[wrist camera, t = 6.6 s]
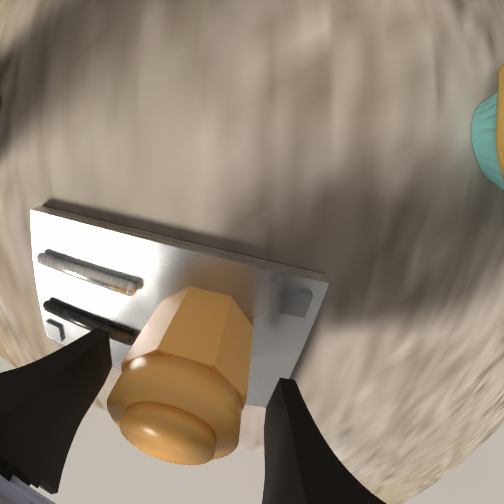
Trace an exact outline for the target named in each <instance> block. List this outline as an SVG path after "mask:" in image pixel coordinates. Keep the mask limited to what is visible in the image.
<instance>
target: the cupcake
mask: <svg viewBox="0 0 504 504" xmlns="http://www.w3.org/2000/svg"><path fill="white" fill-rule="evenodd" d="M497 76H498V92H496V93H495V94H494V95H493V96H491V97H490V98H488V99H487V100H485V101H484V102H482V103H481V104H480V105H479V106H478V107H477V109H476V111H475V113H474V116H473V120H472V128H471V135H472V145H473V150H474V154H475V157H476V160H477V162H478V164H479V167H480V168H481V170H482V172H483V173H484V174H485V176H486V177H487V178H488V179H489V180H490V181H492V182H493V183H495V184H496V185H497V186H499V187H500V188H501V189H502V190H503V191H504V65H503V66H501V67H500V69H499V70H498V75H497Z"/></svg>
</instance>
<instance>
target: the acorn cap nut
mask: <svg viewBox="0 0 504 504" xmlns="http://www.w3.org/2000/svg"><path fill="white" fill-rule="evenodd" d="M252 337H253V326H252V324H251V323H250V322H249V320H248V319H247V318H246V316H245V315H244V313H243V312H242V311H241V309H240V308H239V306H238V305H237V304H236V302H235V301H234V299H233V298H232V297H231V296H227V295H223V294H219V293H216V292H212V291H208V290H204V289H200V288H197V287H193V286H189V287H187V288H185V289H184V290H182V291H180V292H178V293H176V294H174V295H173V296H171V297H169V298H167V299H165V300H163V301H162V302H160V303H159V305H158V306H157V308H156V309H155V311H154V312H153V314H152V316H151V317H150V319H149V320H148V322H147V323H146V325H145V326H144V328H143V329H142V331H141V333H140V334H139V336H138V337H137V339H136V341H135V342H134V344H133V345H132V347H131V348H130V350H129V352H128V353H127V355H126V357H125V358H124V360H123V361H122V363H121V368H122V374H121V375H120V377H119V379H118V380H117V382H116V384H115V386H114V387H113V389H112V391H111V393H110V395H109V397H108V399H107V408H108V411H109V413H110V415H111V417H112V419H113V420H114V422H115V423H116V424H117V425H118V426H119V427H120V430H121V432H122V434H123V435H124V437H125V438H126V439H127V440H128V441H129V442H130V443H131V444H132V445H134V446H135V447H136V448H138V449H139V450H141V451H143V452H145V453H146V454H149V455H151V456H153V457H155V458H158V459H160V460H163V461H167V462H171V463H175V464H181V465H199V464H204V463H207V462H209V461H211V460H213V459H218V458H221V457H224V456H227V455H228V454H230V453H232V452H233V451H234V450H235V449H236V447H237V445H238V442H239V433H240V424H241V414H242V410H243V407H244V405H245V403H246V400H247V391H248V381H249V370H250V359H251V348H252Z"/></svg>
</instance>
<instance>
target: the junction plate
mask: <svg viewBox="0 0 504 504" xmlns="http://www.w3.org/2000/svg"><path fill="white" fill-rule="evenodd" d="M31 237H32V251H33V261H34V270H35V278H36V285H37V291H38V297H39V303H40V308H41V313H42V318H43V323H44V327H45V331H46V335H47V337H49V338H51V339H53V340H55V341H57V342H58V343H61V344H63V345H65V346H66V345H68V344H70V343H71V342H73V341H75V340H77V339H78V338H80V337H82V336H83V335H85V334H87V333H88V332H90V331H92V330H94V329H95V328H99V329H102V330H104V331H107V332H109V339H110V349H111V358H112V366H113V367H115V368H118V369H120V370H122V368H121V363H122V361H123V360H124V358H125V357H126V355H127V353H128V352H129V350H130V348H131V347H132V345H133V344H134V342H135V341H136V339H137V337H138V336H139V334H140V333H141V331H142V329H143V328H144V326H145V325H146V323H147V322H148V320H149V319H150V317H151V316H152V314H153V312H154V311H155V309H156V308H157V306H158V305H159V303H160V302H162V301H163V300H165V299H167V298H169V297H171V296H173V295H174V294H176V293H178V292H180V291H182V290H184V289H185V288H187V287H189V286H193V287H197V288H200V289H204V290H208V291H212V292H216V293H219V294H223V295H227V296H231V297H232V298H233V299H234V301H235V302H236V304H237V305H238V306H239V308H240V309H241V311H242V312H243V313H244V315H245V316H246V318H247V319H248V320H249V322H250V323H251V324H252V326H253V337H252V348H251V359H250V370H249V381H248V391H247V400H246V403H245V404H247V405H253V406H259V407H265V408H266V406H267V404H268V402H269V400H270V398H271V396H272V394H273V391H274V389H275V387H276V385H277V383H278V380H279V378H286V379H289V377H290V375H291V373H292V371H293V369H294V367H295V365H296V362H297V360H298V358H299V356H300V354H301V351H302V349H303V347H304V345H305V342H306V340H307V338H308V335H309V333H310V331H311V328H312V326H313V323H314V321H315V319H316V316H317V314H318V311H319V309H320V306H321V304H322V301H323V299H324V296H325V294H326V291H327V288H328V286H329V282H328V279H327V277H326V275H325V274H323V273H319V272H315V271H310V270H306V269H302V268H298V267H293V266H289V265H285V264H281V263H276V262H272V261H268V260H264V259H260V258H255V257H251V256H247V255H243V254H239V253H234V252H230V251H226V250H222V249H218V248H213V247H209V246H205V245H201V244H197V243H193V242H188V241H184V240H180V239H176V238H172V237H168V236H164V235H160V234H155V233H151V232H147V231H143V230H139V229H135V228H131V227H127V226H123V225H118V224H114V223H110V222H106V221H102V220H98V219H94V218H90V217H86V216H82V215H78V214H74V213H70V212H66V211H62V210H58V209H53V208H49V207H45V206H39V207H36V208H34V209H31Z"/></svg>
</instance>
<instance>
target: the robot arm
mask: <svg viewBox="0 0 504 504" xmlns="http://www.w3.org/2000/svg"><path fill="white" fill-rule="evenodd" d="M111 368H112V358H111V349H110V339H109V332H107V331H104V330H102V329H99V328H95V329H94V330H92V331H90V332H88V333H87V334H85V335H83V336H82V337H80V338H78V339H77V340H75V341H73V342H71V343H70V344H68V345H66V346H64V347H63V348H61V349H59V350H57V351H55V352H53V353H51V354H49V355H47V356H45V357H43V358H41V359H39V360H37V361H35V362H32V363H30V364H27V365H25V366H22V367H19V368H16V369H13V370H9V371H5V372H2V373H0V504H56V503H54V502H52V501H51V500H49V499H48V498H46V497H44V496H43V495H41V494H40V493H38V492H37V491H35V490H33V489H32V488H31V487H29V486H30V484H32V485H33V486H35V487H36V488H38V487H41V488H42V489H44V490H45V491H47V492H49V493H50V494H54V493H57V492H58V488H59V483H60V479H61V475H62V470H63V467H64V464H65V461H66V457H67V454H68V451H69V449H70V446H71V443H72V441H73V438H74V436H75V433H76V431H77V429H78V427H79V425H80V422H81V421H82V419H83V417H84V416H85V414H86V412H87V411H88V409H89V408H90V406H91V404H92V403H93V401H94V400H95V398H96V396H97V395H98V393H99V391H100V390H101V388H102V387H103V385H104V383H105V381H106V379H107V377H108V374H109V372H110V370H111ZM264 447H265V482H264V492H263V500H262V504H386V503H385V502H383V501H382V500H380V499H379V498H378V497H376V496H375V495H373V494H372V493H371V492H370V491H369V490H367V489H366V488H365V487H364V486H363V485H362V484H361V483H360V482H359V481H358V480H357V479H356V478H355V477H354V476H353V475H352V474H351V473H350V472H349V471H348V470H347V469H346V468H345V467H344V465H343V464H342V463H341V462H340V460H339V459H338V458H337V457H336V455H335V454H334V453H333V451H332V450H331V448H330V447H329V445H328V444H327V442H326V441H325V439H324V438H323V436H322V434H321V433H320V431H319V429H318V428H317V426H316V424H315V422H314V420H313V418H312V416H311V414H310V412H309V410H308V408H307V406H306V404H305V402H304V400H303V398H302V395H301V393H300V391H299V388H298V386H297V383H296V381H295V380H293V379H286V378H279V380H278V383H277V385H276V387H275V389H274V391H273V394H272V396H271V398H270V400H269V402H268V404H267V406H266V414H265V424H264Z"/></svg>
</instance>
